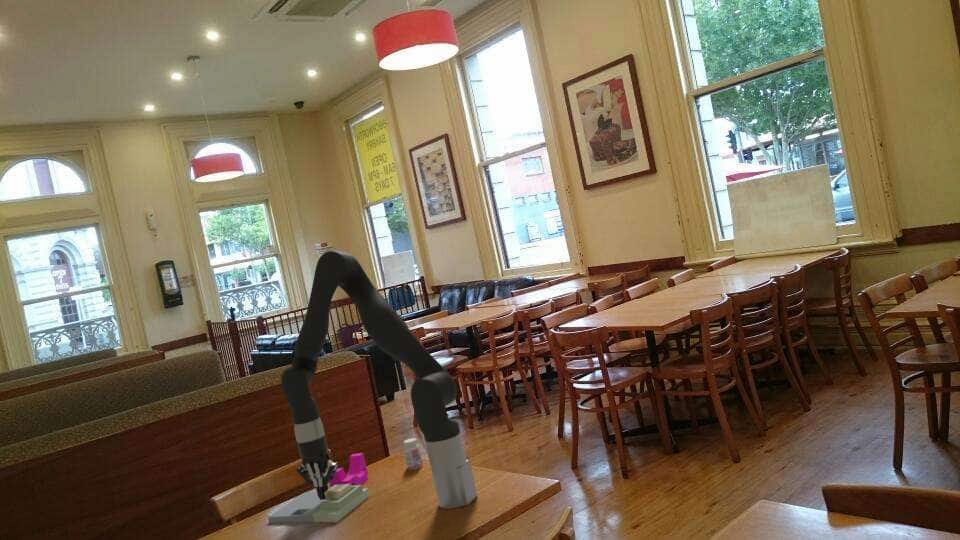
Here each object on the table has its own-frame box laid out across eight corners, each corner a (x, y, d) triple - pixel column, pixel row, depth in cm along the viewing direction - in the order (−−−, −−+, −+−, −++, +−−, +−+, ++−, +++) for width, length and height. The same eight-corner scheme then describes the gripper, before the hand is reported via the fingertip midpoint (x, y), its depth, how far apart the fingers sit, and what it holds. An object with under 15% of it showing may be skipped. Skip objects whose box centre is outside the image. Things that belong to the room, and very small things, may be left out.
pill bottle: (417, 470, 202) (411, 442, 202) (404, 470, 205) (398, 443, 205) (426, 464, 206) (420, 437, 206) (414, 464, 209) (408, 437, 209)
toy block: (351, 496, 192) (345, 470, 192) (332, 497, 194) (327, 472, 194) (375, 475, 206) (370, 452, 206) (357, 477, 208) (352, 454, 208)
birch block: (352, 496, 183) (350, 483, 183) (342, 504, 178) (339, 491, 178) (337, 497, 185) (335, 484, 185) (327, 505, 180) (324, 492, 180)
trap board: (370, 497, 187) (366, 481, 187) (337, 523, 172) (333, 506, 172) (306, 500, 196) (303, 485, 195) (269, 526, 181) (266, 509, 181)
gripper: (338, 430, 183) (352, 491, 184) (299, 434, 188) (313, 494, 189) (322, 439, 176) (336, 503, 177) (282, 443, 182) (296, 505, 182)
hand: (324, 498), depth 183 cm, fingers closed
